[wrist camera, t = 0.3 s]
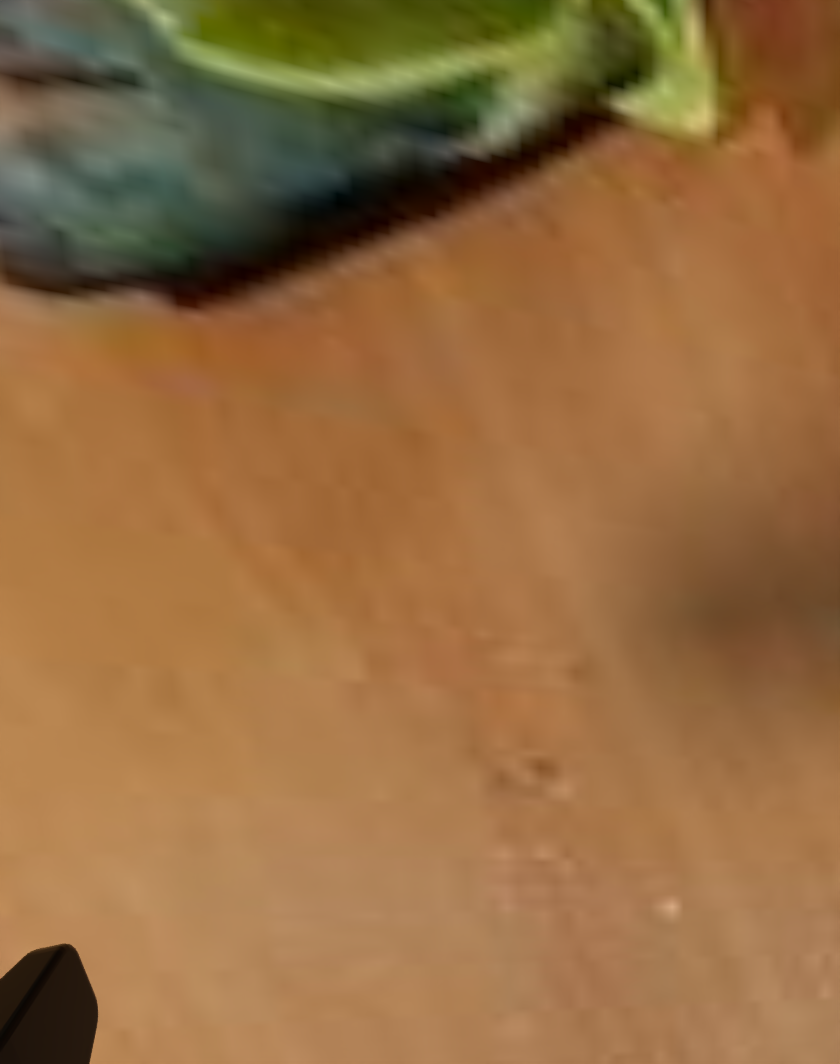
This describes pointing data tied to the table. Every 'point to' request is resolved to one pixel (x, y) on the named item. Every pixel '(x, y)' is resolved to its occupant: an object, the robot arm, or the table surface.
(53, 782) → the table surface
